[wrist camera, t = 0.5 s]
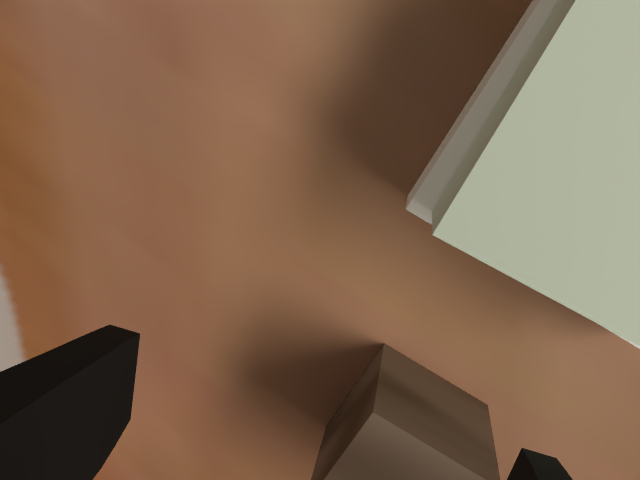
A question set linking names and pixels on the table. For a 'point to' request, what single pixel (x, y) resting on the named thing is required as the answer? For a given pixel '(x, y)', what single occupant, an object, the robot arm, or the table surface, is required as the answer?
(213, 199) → the table surface
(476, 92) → the tower base slab
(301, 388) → the table surface
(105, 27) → the table surface
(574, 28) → the tower top slab
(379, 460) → the walnut block
